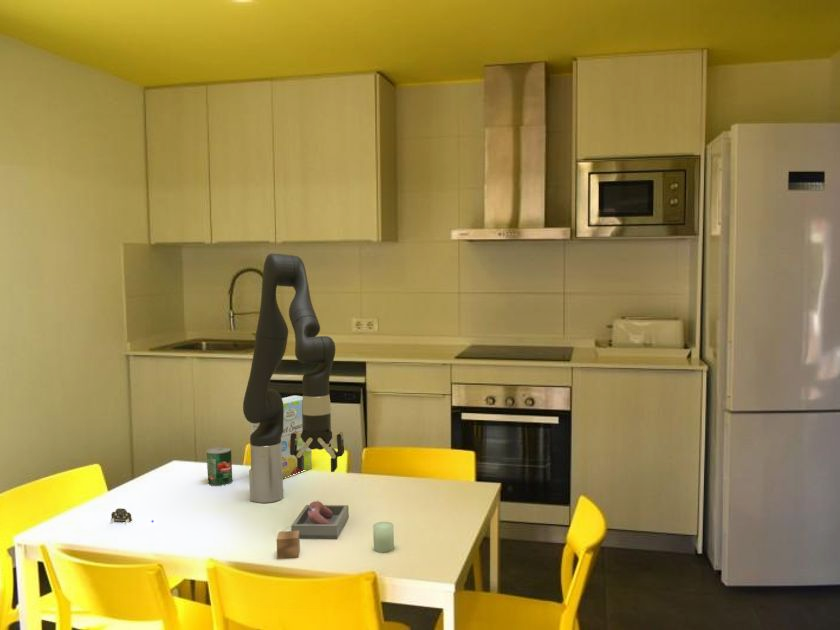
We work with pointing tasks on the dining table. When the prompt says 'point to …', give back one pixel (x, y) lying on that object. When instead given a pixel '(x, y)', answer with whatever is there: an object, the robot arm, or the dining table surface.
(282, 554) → the walnut cube
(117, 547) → the dining table surface
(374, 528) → the sage cylinder
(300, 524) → the charcoal tray
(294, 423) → the snack box
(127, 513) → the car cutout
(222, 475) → the canned tomato
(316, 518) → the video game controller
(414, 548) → the dining table surface
